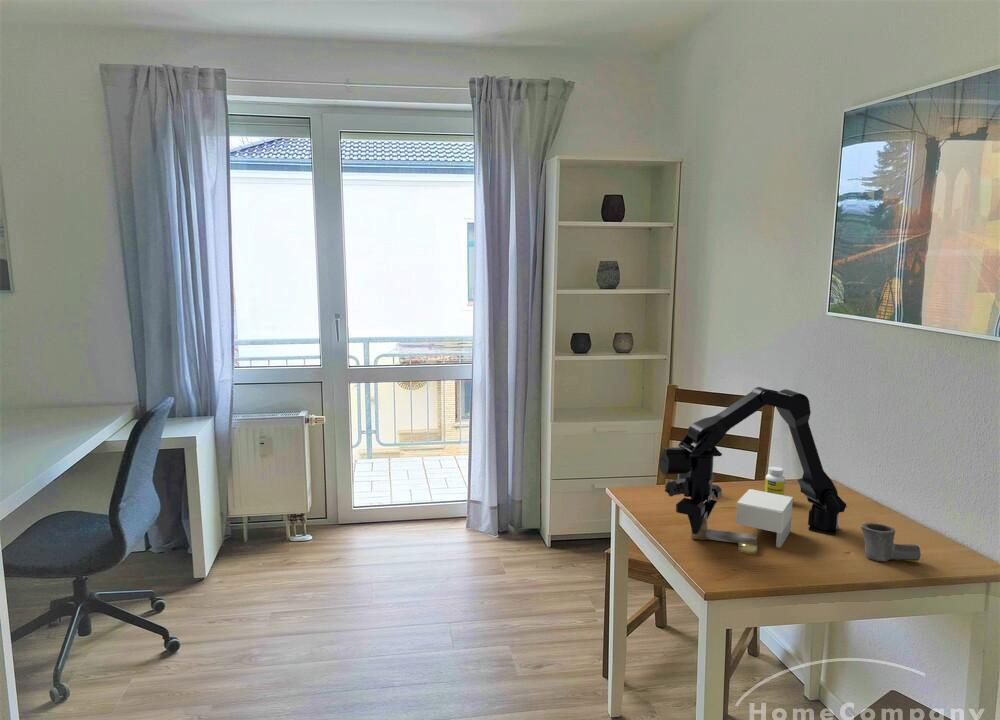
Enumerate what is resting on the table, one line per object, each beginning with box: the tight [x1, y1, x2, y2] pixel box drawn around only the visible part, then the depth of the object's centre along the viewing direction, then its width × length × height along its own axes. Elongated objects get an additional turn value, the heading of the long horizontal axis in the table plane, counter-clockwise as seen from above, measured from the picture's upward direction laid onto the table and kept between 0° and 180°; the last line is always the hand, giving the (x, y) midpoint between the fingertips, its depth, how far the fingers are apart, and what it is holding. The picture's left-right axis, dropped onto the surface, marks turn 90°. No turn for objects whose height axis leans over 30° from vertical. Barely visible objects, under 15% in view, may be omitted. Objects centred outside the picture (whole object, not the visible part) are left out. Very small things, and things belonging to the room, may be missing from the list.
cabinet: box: [735, 488, 794, 549], centre depth 172 cm, size 11×13×10 cm
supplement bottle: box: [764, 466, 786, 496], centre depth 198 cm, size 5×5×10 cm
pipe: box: [860, 522, 922, 562], centre depth 158 cm, size 6×13×8 cm, turn 78°
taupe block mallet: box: [690, 514, 757, 544], centre depth 167 cm, size 16×4×6 cm, turn 68°
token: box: [737, 541, 758, 555], centre depth 163 cm, size 4×4×2 cm
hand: (697, 530), depth 170 cm, fingers closed on taupe block mallet, 4 cm apart
